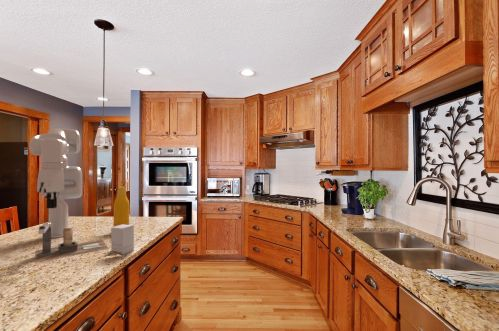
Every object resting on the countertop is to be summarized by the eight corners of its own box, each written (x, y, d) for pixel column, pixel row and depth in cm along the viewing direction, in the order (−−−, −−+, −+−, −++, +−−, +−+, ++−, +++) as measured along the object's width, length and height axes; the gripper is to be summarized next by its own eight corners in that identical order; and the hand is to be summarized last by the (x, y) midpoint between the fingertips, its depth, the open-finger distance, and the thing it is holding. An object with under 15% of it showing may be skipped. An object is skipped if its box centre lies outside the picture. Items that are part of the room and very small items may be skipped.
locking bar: (43, 226, 115) (43, 220, 115) (51, 225, 117) (51, 219, 117) (36, 234, 102) (36, 227, 102) (46, 233, 104) (46, 226, 104)
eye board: (35, 252, 120) (35, 225, 120) (101, 241, 138) (102, 217, 138) (34, 265, 104) (34, 233, 104) (109, 251, 122) (109, 223, 122)
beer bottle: (129, 228, 167) (129, 186, 167) (129, 232, 158) (129, 187, 159) (113, 230, 163) (114, 186, 163) (112, 233, 154) (113, 187, 155)
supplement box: (134, 250, 124) (134, 225, 124) (122, 255, 117) (122, 228, 117) (123, 248, 126) (123, 223, 127) (110, 253, 119) (110, 227, 120)
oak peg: (63, 250, 120) (63, 227, 120) (72, 248, 122) (72, 226, 122) (63, 252, 117) (63, 229, 117) (72, 250, 119) (72, 227, 120)
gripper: (56, 166, 116) (56, 205, 116) (28, 166, 101) (28, 211, 101) (72, 166, 116) (72, 205, 116) (46, 166, 101) (46, 211, 101)
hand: (51, 207), depth 109 cm, fingers closed
